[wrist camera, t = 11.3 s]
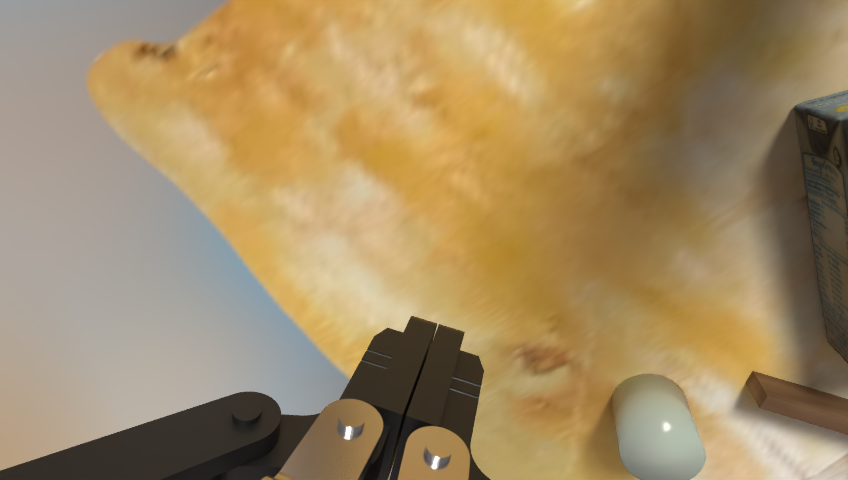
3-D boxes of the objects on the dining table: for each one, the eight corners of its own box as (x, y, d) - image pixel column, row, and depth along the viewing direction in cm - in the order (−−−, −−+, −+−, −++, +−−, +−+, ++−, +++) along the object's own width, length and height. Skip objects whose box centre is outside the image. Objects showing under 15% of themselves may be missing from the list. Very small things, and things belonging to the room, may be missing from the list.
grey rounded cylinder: (626, 365, 43) (637, 414, 38) (698, 387, 42) (720, 440, 37) (601, 416, 46) (608, 469, 40) (668, 438, 45) (685, 494, 40)
